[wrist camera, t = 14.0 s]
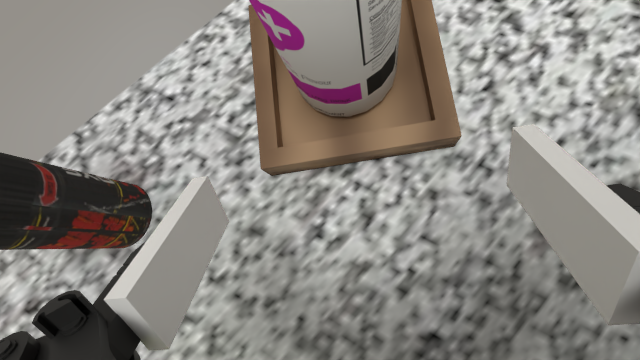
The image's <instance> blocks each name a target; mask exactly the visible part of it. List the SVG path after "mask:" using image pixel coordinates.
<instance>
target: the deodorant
mask: <svg viewBox="0 0 640 360" xmlns="http://www.w3.org/2000/svg"><path fill="white" fill-rule="evenodd" d="M151 215H152V207H151V201H150V199H149V197H148V195H147V194H146V192H145V191H144V190H143V189H142V188H140V187H139V186H137V185H133V184H129V183H125V182H121V181H116V180H112V179H108V178H104V177H100V176H96V175H92V174H87V173H83V172H79V171H75V170H71V169H67V168H62V167H58V166H54V165H50V164H46V163H42V162H37V161H33V160H29V159H24V158H20V157H17V156H12V155H8V154H4V153H0V250H11V249H93V248H125V247H128V246H131V245H133V244H134V243H136V242H137V241H139V240H140V238H141V237H142V236H143V235H144V234H145V232H146V230H147V229H148V227H149V224H150V221H151Z"/></svg>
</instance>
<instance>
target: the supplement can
mask: <svg viewBox="0 0 640 360" xmlns="http://www.w3.org/2000/svg"><path fill="white" fill-rule="evenodd" d="M249 1H250V2H251V4H252V6H253V8H254V10H255V12H256V13H257V15H258V17H259V19H260V21H261V22H262V24H263V26H264V28H265V30H266V31H267V33H268V35H269V37H270V39H271V41H272V42H273V44H274V46H275V48H276V50H277V51H278V53H279V55H280V57H281V59H282V60H283V62H284V64H285V66H286V68H287V70H288V71H289V73H290V75H291V77H292V79H293V80H294V82H295V84H296V86H297V88H298V89H299V91H300V93H301V95H302V97H303V98H304V100H305V101H306V102H308V103H309V104H310V105H311V106H312V107H313V108H314V109H315V110H317V111H320V112H322V113H325V114H327V115H330V116H345V117H350V116H353V115H356V114H359V113H363V112H366V111H368V110H369V109H371V108H372V107H373V106H375V105H376V104H378V103H379V102H380V101H382V100H383V98H384V97H385V95H386V94H387V93H388V91H389V90H390V88H391V87H392V85H393V81H394V78H395V74H396V70H397V59H398V45H399V31H400V18H401V4H402V0H249Z"/></svg>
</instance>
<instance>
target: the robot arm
mask: <svg viewBox="0 0 640 360" xmlns="http://www.w3.org/2000/svg"><path fill="white" fill-rule="evenodd" d="M507 186H508V187H509V189H510V190H511V192H512V193H513V194H514V196H515V197H516V198H517V200H518V201H519V203H520V204H521V205H522V207H523V208H524V209H525V211H526V212H527V214H528V215H529V216H530V218H531V219H532V221H533V222H534V223H535V225H536V226H537V227H538V229H539V230H540V232H541V233H542V234H543V236H544V237H545V239H546V240H547V241H548V243H549V244H550V245H551V247H552V248H553V250H554V251H555V252H556V254H557V255H558V257H559V258H560V259H561V261H562V262H563V263H564V265H565V266H566V268H567V269H568V270H569V272H570V273H571V275H572V276H573V277H574V279H575V280H576V281H577V283H578V284H579V286H580V287H581V288H582V290H583V291H584V293H585V294H586V295H587V297H588V298H589V299H590V301H591V302H592V304H593V305H594V306H595V308H596V309H597V311H598V312H599V313H600V315H601V316H602V317H603V319H604V320H605V322H606V323H607V324H608V325H621V324H639V323H640V192H638V191H636V190H634V189H631V188H629V187H627V186H624V185H622V184H614V185H605V184H604V183H603V182H601V181H600V180H599V179H598V178H597V177H596V176H594V175H593V174H592V173H591V172H590V171H588V170H587V169H586V168H585V167H584V166H583V165H581V164H580V163H579V162H578V161H577V160H576V159H574V158H573V157H572V156H571V155H570V154H568V153H567V152H566V151H565V150H564V149H563V148H561V147H560V146H559V145H558V144H557V143H556V142H554V141H553V140H552V139H551V138H550V137H549V136H547V135H546V134H545V133H544V132H543V131H541V130H540V129H539V128H538V127H537V126H536V125H534V124H531V125H525V126H519V127H513V128H512V138H511V148H510V157H509V167H508V177H507ZM228 223H229V220H228V217H227V215H226V213H225V211H224V209H223V207H222V205H221V203H220V201H219V199H218V197H217V195H216V193H215V191H214V188H213V186H212V184H211V182H210V180H209V178H208V176H206V177H199V178H193V179H192V180H191V182H190V183H189V184H188V186H187V187H186V188H185V190H184V191H183V192H182V194H181V195H180V197H179V198H178V199H177V201H176V202H175V203H174V205H173V206H172V207H171V209H170V210H169V211H168V213H167V214H166V216H165V217H164V218H163V220H162V221H161V222H160V224H159V225H158V226H157V228H156V229H155V231H154V232H153V233H152V235H151V236H150V237H149V239H148V240H147V241H146V243H144V244H142V245H141V246H140V247H139V248H137V249H136V250H135V251H134V252H133V253H132V254H131V255H130V256H129V257H128V259H127V260H126V261H125V263H124V264H123V266H122V267H121V268H120V269H119V271H118V272H117V275H115V276H114V277H113V279H112V280H111V281H110V283H109V284H108V285H107V287H106V288H105V289H104V291H103V292H102V293H101V294H100V296H99V297H98V298H97V300H96V301H95V302H94V304H93V305H92V304H91V303H90V302H89V301H88V300H87V299H86V297H85V296H84V295H83V294H82V293H81V292H80V291H76V290H73V291H68V292H65V293H63V294H61V295H58V296H57V297H55V298H54V299H52V300H51V301H49V302H48V303H47V304H46V305H45V306H43V307H42V308H41V309H40V310H39V312H38V313H37V314H36V315H35V317H34V319H33V322H32V324H33V325H35V326H36V327H37V328H38V329H39V330H40V331H42V332H43V333H44V334H45V335H46V336H43V337H41V338H38V339H35V338H33V337H32V336H31V335H30V334H29V333H27V332H24V331H20V332H17V333H13V334H11V335H9V336H8V337H6V338H3V339H2V340H0V360H140V356H139V354H138V353H137V352H136V350H135V349H136V347H137V346H138V344H139V342H140V341H141V342H142V343H143V344H144V345H145V346H146V347H147V348H148V350H165V349H169V348H170V346H171V344H172V342H173V340H174V338H175V336H176V333H177V331H178V329H179V327H180V325H181V323H182V321H183V318H184V316H185V314H186V312H187V310H188V308H189V306H190V304H191V301H192V299H193V297H194V295H195V293H196V291H197V289H198V287H199V284H200V282H201V280H202V278H203V276H204V274H205V272H206V270H207V267H208V265H209V263H210V261H211V259H212V257H213V255H214V252H215V250H216V248H217V246H218V244H219V242H220V240H221V238H222V235H223V233H224V231H225V229H226V227H227V225H228Z"/></svg>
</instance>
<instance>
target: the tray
mask: <svg viewBox="0 0 640 360" xmlns="http://www.w3.org/2000/svg"><path fill="white" fill-rule="evenodd" d="M249 19H250V32H251V45H252V58H253V71H254V84H255V98H256V111H257V124H258V137H259V150H260V163H261V169H262V170H263V171H265V172H267V173H268V174H270V175H271V176H273V175H279V174H285V173H291V172H298V171H304V170H310V169H316V168H322V167H329V166H335V165H341V164H347V163H354V162H360V161H366V160H372V159H379V158H385V157H391V156H397V155H404V154H410V153H416V152H422V151H429V150H435V149H441V148H447V147H453V146H455V145H456V143H457V142H458V140H459V139H460V137H461V131H460V127H459V122H458V118H457V113H456V109H455V104H454V100H453V95H452V91H451V86H450V82H449V77H448V73H447V68H446V64H445V59H444V55H443V50H442V45H441V41H440V36H439V32H438V27H437V23H436V18H435V14H434V9H433V5H432V0H402V4H401V18H400V31H399V45H398V59H397V70H396V74H395V78H394V81H393V85H392V87H391V88H390V90H389V91H388V93H387V94H386V95H385V97H384V98H383V100H382V101H380V102H379V103H378V104H376V105H375V106H373V107H372V108H371V109H369V110H368V111H366V112H363V113H359V114H356V115H353V116H350V117H345V116H330V115H327V114H325V113H322V112H320V111H317V110H315V109H314V108H313V107H312V106H311V105H310V104H309V103H308V102H306V101H305V100H304V98H303V97H302V95H301V93H300V91H299V89H298V88H297V86H296V84H295V82H294V80H293V79H292V77H291V75H290V73H289V71H288V70H287V68H286V66H285V64H284V62H283V60H282V59H281V57H280V55H279V53H278V51H277V50H276V48H275V46H274V44H273V42H272V41H271V39H270V37H269V35H268V33H267V31H266V30H265V28H264V26H263V24H262V22H261V21H260V19H259V17H258V15H257V13H256V12H255V10H254V8H253V6H252V5H249Z"/></svg>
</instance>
